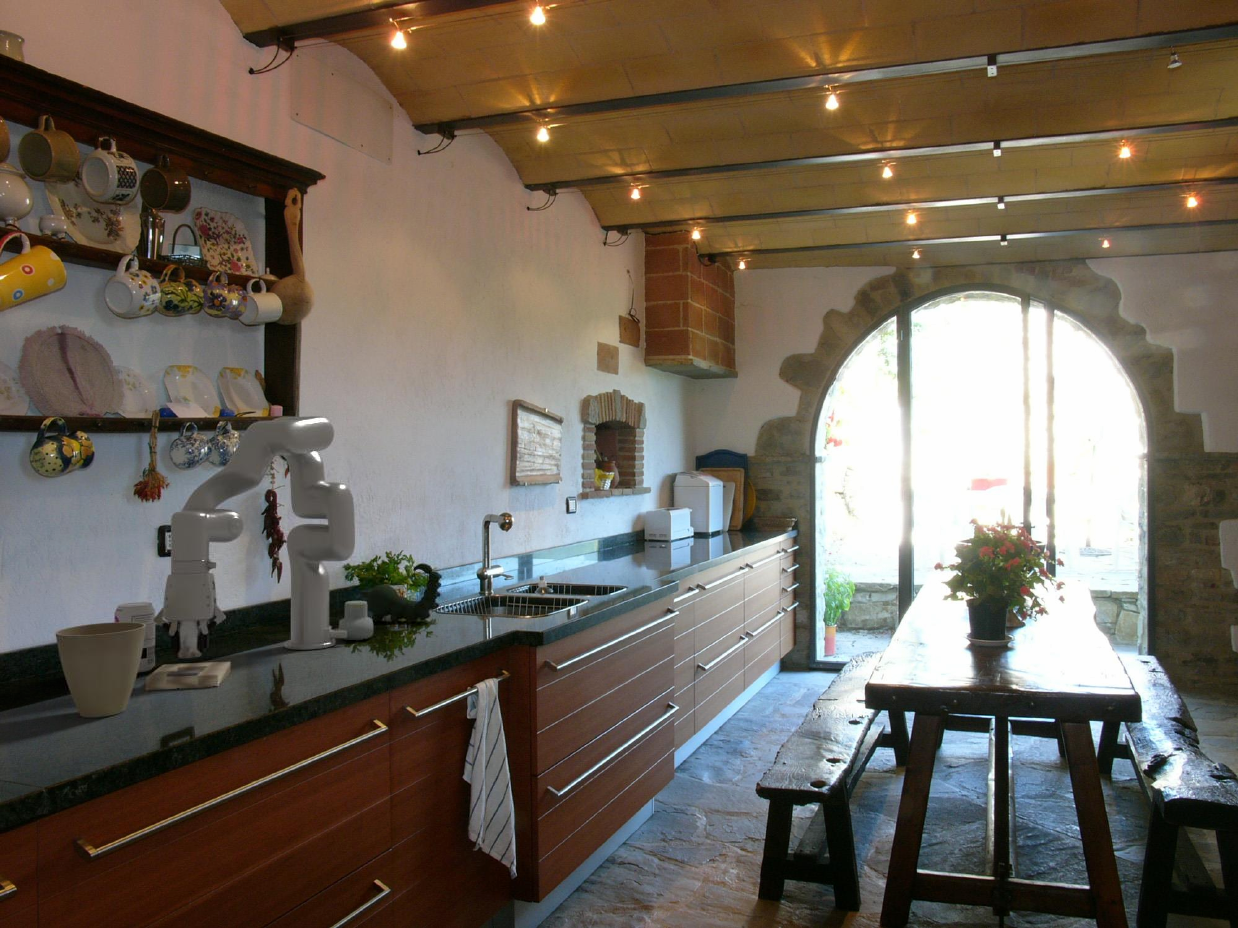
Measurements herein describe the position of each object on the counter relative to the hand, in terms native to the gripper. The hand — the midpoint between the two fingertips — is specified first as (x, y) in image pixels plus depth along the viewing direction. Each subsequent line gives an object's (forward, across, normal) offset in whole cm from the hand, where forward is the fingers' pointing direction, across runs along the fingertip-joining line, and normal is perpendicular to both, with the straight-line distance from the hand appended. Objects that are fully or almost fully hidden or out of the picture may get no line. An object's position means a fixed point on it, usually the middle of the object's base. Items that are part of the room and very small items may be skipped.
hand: (190, 651), depth 203 cm
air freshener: (+7, -32, -45) cm, 56 cm away
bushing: (+1, 0, 0) cm, 1 cm away
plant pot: (+7, +10, +25) cm, 28 cm away
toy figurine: (+7, -43, -72) cm, 84 cm away
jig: (+6, 0, 0) cm, 6 cm away
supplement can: (+7, +15, -15) cm, 22 cm away
